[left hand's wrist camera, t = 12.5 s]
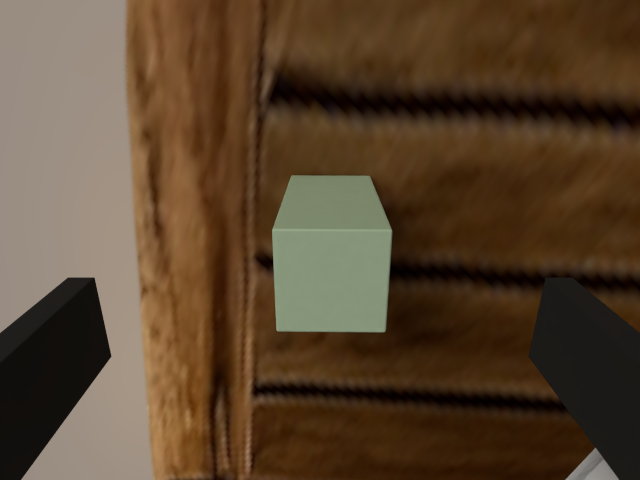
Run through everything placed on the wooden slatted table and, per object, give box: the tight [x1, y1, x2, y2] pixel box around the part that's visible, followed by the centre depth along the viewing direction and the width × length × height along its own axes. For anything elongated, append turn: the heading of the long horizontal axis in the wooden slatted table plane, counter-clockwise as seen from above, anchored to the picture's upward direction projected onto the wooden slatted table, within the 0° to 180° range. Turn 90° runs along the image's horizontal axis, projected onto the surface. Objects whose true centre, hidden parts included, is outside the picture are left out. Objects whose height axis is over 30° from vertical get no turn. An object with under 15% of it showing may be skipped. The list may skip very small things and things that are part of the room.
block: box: [272, 176, 392, 332], centre depth 19 cm, size 4×4×8 cm
